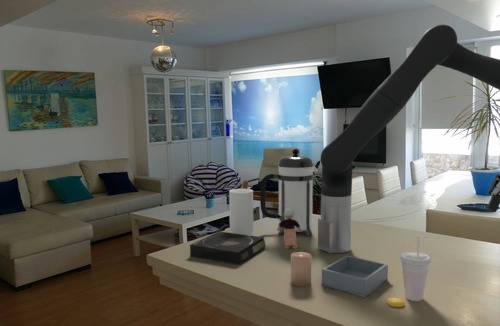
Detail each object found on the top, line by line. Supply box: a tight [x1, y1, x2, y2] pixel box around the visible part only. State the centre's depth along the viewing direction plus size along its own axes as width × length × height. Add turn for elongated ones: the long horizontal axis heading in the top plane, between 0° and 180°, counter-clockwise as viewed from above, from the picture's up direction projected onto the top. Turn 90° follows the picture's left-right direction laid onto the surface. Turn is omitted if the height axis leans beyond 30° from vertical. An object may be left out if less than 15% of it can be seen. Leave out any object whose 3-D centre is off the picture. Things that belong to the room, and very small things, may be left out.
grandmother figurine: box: [276, 208, 303, 249], centre depth 131 cm, size 8×4×13 cm, turn 94°
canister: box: [290, 251, 312, 287], centre depth 103 cm, size 5×5×7 cm
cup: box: [228, 188, 254, 236], centre depth 145 cm, size 8×8×16 cm
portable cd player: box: [189, 231, 266, 266], centre depth 127 cm, size 16×17×4 cm
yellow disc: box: [386, 297, 405, 308], centre depth 91 cm, size 4×4×1 cm
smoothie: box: [399, 236, 432, 302], centre depth 93 cm, size 6×6×14 cm
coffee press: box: [259, 148, 319, 237], centre depth 148 cm, size 17×16×30 cm
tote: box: [321, 255, 389, 298], centre depth 103 cm, size 13×11×4 cm
